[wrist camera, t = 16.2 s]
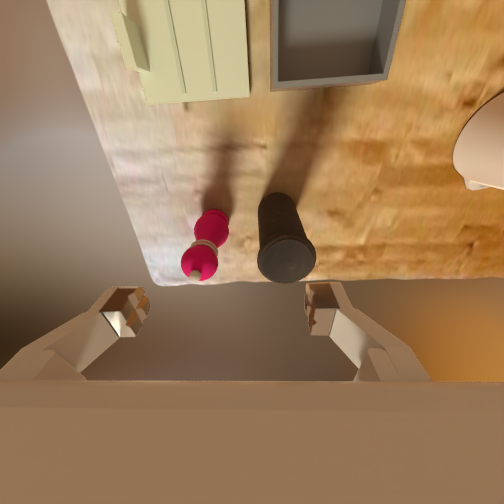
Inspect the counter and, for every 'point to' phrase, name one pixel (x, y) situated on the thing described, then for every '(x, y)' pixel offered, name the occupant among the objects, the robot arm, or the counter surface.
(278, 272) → the container
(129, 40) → the lid
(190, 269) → the pepper mill
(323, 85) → the tub
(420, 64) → the counter surface
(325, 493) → the robot arm
